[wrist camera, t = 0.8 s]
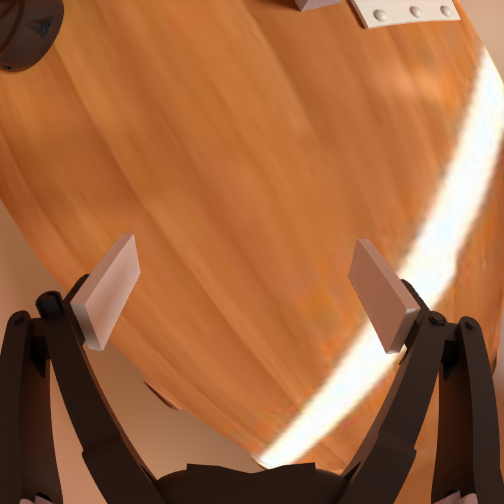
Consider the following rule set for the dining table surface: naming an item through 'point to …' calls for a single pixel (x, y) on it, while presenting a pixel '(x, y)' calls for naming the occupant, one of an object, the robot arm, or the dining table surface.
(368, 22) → the studded cream panel
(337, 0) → the gray brick
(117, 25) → the dining table surface
